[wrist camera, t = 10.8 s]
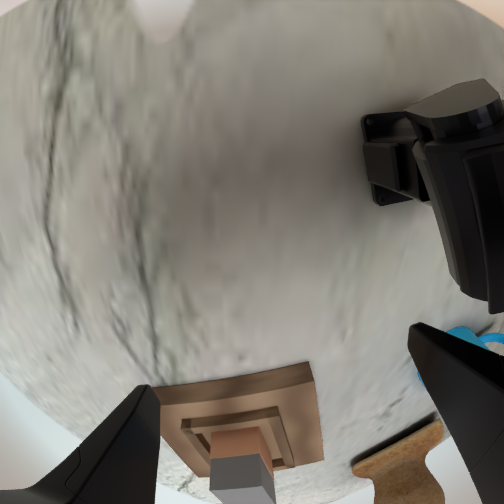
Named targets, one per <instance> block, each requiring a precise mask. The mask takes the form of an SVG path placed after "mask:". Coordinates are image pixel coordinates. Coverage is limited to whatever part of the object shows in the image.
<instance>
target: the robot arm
mask: <svg viewBox="0 0 504 504" xmlns="http://www.w3.org/2000/svg"><path fill="white" fill-rule="evenodd" d="M403 111H404V112H393V113H380V114H369V115H364V116H363V117H362V119H361V124H362V129H363V134H364V140H365V143H364V145H363V150H364V156H365V162H366V168H367V175H368V180H369V181H370V182H371V185H372V192H373V200H374V202H375V204H377V205H379V206H385V205H389V204H394V203H399V202H403V201H408V200H413V199H415V200H418V201H420V202H423V203H425V204H428V205H430V206H432V207H433V210H434V213H435V217H436V220H437V223H438V227H439V230H440V234H441V238H442V242H443V246H444V250H445V254H446V258H447V262H448V267H449V272H450V274H451V276H452V277H453V278H454V280H455V281H456V283H457V284H458V285H459V286H460V290H461V291H462V292H463V293H465V294H466V295H468V296H470V297H472V298H476V299H479V300H482V301H488V311H489V313H490V314H497V313H501V312H504V100H501V98H500V96H499V93H498V92H497V91H496V90H495V89H494V88H493V87H492V86H491V85H490V84H489V83H488V82H487V81H486V80H485V79H479V80H474V81H469V82H464V83H459V84H455V85H453V86H451V87H449V88H447V89H444V90H442V91H440V92H438V93H436V94H434V95H432V96H430V97H428V98H426V99H424V100H421V101H419V102H417V103H415V104H413V105H411V106H409V107H407V108H405V109H404V110H403ZM367 119H370V121H371V124H370V125H368V124H367ZM380 196H382V200H381V201H380V202H379V197H380ZM408 349H409V352H410V354H411V356H412V358H413V361H414V363H415V365H416V368H417V370H418V372H419V375H420V377H421V379H422V381H423V384H424V385H425V387H426V389H427V391H428V393H429V394H430V396H431V398H432V400H433V402H434V403H435V405H436V407H437V409H438V411H439V413H440V414H441V416H442V418H443V420H444V422H445V424H446V426H447V428H448V430H449V432H450V434H451V435H452V437H453V439H454V441H455V443H456V445H457V447H458V450H459V452H460V453H461V456H462V458H463V460H464V462H465V464H466V466H467V468H468V471H469V472H470V475H471V478H472V480H473V482H474V484H475V487H476V489H477V491H478V494H479V496H480V498H481V501H482V503H483V504H504V356H502V355H500V356H499V354H497V353H495V352H492V351H490V350H487V349H485V348H482V347H480V346H478V345H475V344H473V343H470V342H468V341H466V340H463V339H461V338H458V337H456V336H453V335H451V334H449V333H446V332H444V331H441V330H439V329H436V328H434V327H432V326H429V325H427V324H424V323H422V322H418V323H416V324H413V325H411V326H410V327H409V334H408ZM160 411H161V404H160V400H159V398H158V397H157V395H156V394H155V392H154V390H153V389H152V387H151V386H150V385H148V384H145V385H138V386H137V387H136V388H135V389H134V390H133V391H132V392H131V393H130V394H129V395H128V396H127V397H126V398H125V399H124V400H123V401H122V402H121V403H120V404H119V405H118V406H117V407H116V408H115V409H114V410H113V411H112V412H111V413H110V414H109V416H108V417H107V418H106V419H105V420H104V421H103V422H102V423H101V424H100V425H99V426H98V427H97V428H96V429H95V430H94V431H93V432H92V433H91V434H90V435H89V436H88V437H87V438H86V439H85V440H84V441H83V442H82V443H81V444H80V445H79V447H77V448H76V449H75V450H74V451H73V452H72V453H71V454H70V455H69V456H68V457H67V458H66V459H65V460H64V461H63V462H61V463H60V464H59V465H58V466H57V467H56V468H54V469H53V470H52V471H51V472H50V473H48V474H47V475H46V476H45V477H44V478H42V479H41V480H40V481H38V482H37V483H36V484H34V485H33V486H31V487H28V488H25V489H17V490H0V504H155V491H156V479H157V468H158V458H159V449H160Z"/></svg>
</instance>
